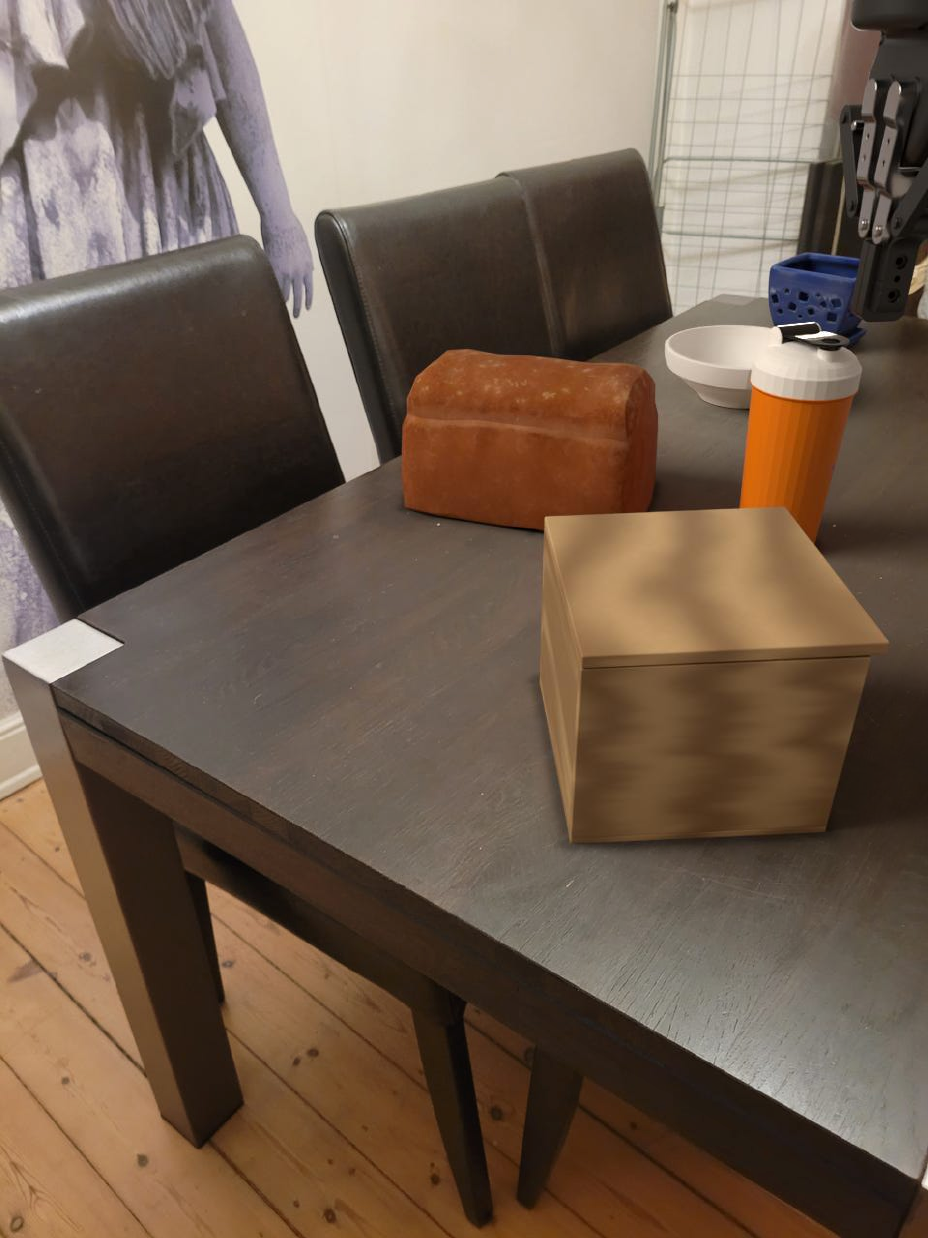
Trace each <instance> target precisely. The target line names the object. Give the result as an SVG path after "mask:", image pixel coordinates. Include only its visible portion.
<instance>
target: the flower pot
mask: <svg viewBox="0 0 928 1238" xmlns="http://www.w3.org/2000/svg"><path fill="white" fill-rule="evenodd" d="M859 262H860V258H857V257H851V256H842V255H836V254H835V255H834V254H827V253H826V254H825V253H817V252H802V253H800V254H797V255H794V256H791V257H788V258H787V259H784V260H782V261H780V262H777V263H775V264H772V265H771V267H770V269H769V274H768V288H767V290H768V291H767V294H768V296H767V297H768V307H769V314H770V318H771V321H772V323H773V327H775V326H783V325H793V324H803V323H813V322H815V323H818V324H819V326H820V328H821V331H822V332H829V333H834V334H837V335H841V336H843V337H846V338H848V339H849V344H848V345H847V346H844V348H846V349H847V348H849V347H851V346H852V345H854V344H855V343H857V342H859V341H860V340H861V339H862V338H863V337H864V336H865V335H866V334H867V332H868V329H867V328H865V327H861V326H860V327H859V325H860V324H861V323H862V321H863V320H862V319H861V318H859V317H858V316H856V315H855V314H853V313H852V311H851V302H852V297H853V292H854V287H855V282H856V277H857V272H858V267H859Z"/></svg>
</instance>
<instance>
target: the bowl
mask: <svg viewBox="0 0 928 1238" xmlns="http://www.w3.org/2000/svg"><path fill="white" fill-rule="evenodd" d="M772 328H773V327H767V326H760V325H759V326H757V325H746V324H745V325H743V324H719V325H716V324H715V325H706V326H697V327H692V328H687V329H684V330H681V331H677V332H675V333H674V334H672V335H670V336H669V337H668V338H667V339H666V340H665V343H664V355H665V362H666V366H667V368H668V369H669V370H670V371H671V373H673V374H674V375H676V376H678V377H679V378H680V379H681V380H683V382H685V383H686V384H687V385H688V386H690V387H691V388H692V389H693V390H694V391H695V392H696V393H697V396H698V397H699V398H700V399H701V400H702V401H704V402H706V403H709V404H711V405H714V406H718V407H723V408H730V409H744V410H745V409H750V403H751V393H752V384H751V383H750V378H751V373H752V367H753V361H754V359H755V357H756V356H758V354H759V353H760V352H761V351H762V350H763V349H765V348H766V347H767V342H768V336H769V332H770V330H771V329H772Z"/></svg>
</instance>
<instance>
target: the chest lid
mask: <svg viewBox="0 0 928 1238" xmlns="http://www.w3.org/2000/svg"><path fill="white" fill-rule="evenodd" d="M544 526H545V530H546V534H547V538H548V542H549V546H550V549H551V553H552V557H553V561H554V565H555V569H556V573H557V577H558V580H559V584H560V588H561V592H562V596H563V600H564V604H565V608H566V611H567V615H568V619H569V623H570V627H571V631H572V635H573V638H574V642H575V646H576V650H577V654H578V658H579V662H580V666H581V668H598V667H620V666H642V665H663V664H685V663H707V662H729V661H751V660H773V659H795V658H816V657H838V656H860V655H870V656H878V655H888V651H889V648H890V641H889V639H888V638H887V637H886V635H885V634H884V633H883V632H882V630H881V629H880V628H879V626H878V625H877V624H876V622H875V621H874V620H873V619H872V617H871V616H870V615H869V614H868V612H867V611H866V610H865V608H864V607H863V606H862V604H861V603H860V602H859V601H858V599H857V598H856V597H855V596H854V594H853V593H852V591H850V589H849V588H848V586H847V585H846V584H845V582H844V581H843V580H842V579H841V577H840V576H839V575H838V574H837V572H836V571H835V570H834V568H833V567H832V566H831V564H830V563H829V562H828V560H827V559H826V558H825V557H824V555H823V554H822V553H821V552H820V550H819V549H818V548H817V546H816V545H815V544H813V542H812V541H811V540H810V539H809V537H808V536H807V535H806V533H805V532H804V531H803V530H802V528H801V527H800V526H799V524H798V523H797V522H796V520H795V519H794V518H793V517H792V515H791V514H790V513H789V511H788V510H787V509H786V508H785V507H763V508H740V507H739V508H718V509H717V508H715V509H695V510H692V509H691V510H671V511H670V510H669V511H650V512H649V511H646V512H644V513H620V514H596V515H572V516H548V517H545V525H544Z"/></svg>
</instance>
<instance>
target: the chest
mask: <svg viewBox="0 0 928 1238" xmlns="http://www.w3.org/2000/svg"><path fill="white" fill-rule="evenodd" d="M542 557H543V559H542V561H543V562H542V589H541V590H542V592H541V594H542V595H541V626H540V657H539V660H540V661H539V685H540V689H541V695H542V696H541V697H542V700H543V706H544V711H545V717H546V721H547V726H548V733H549V737H550V743H551V749H552V752H553V760H554V763H555V770H556V774H557V779H558V785H559V789H560V797H561V801H562V806H563V810H564V816H565V821H566V828H567V832H568V836H569V838H568V839H569V843H570V844H572V845H574V844H595V843H613V842H614V843H615V842H635V841H638V842H639V841H657V840H659V841H661V840H679V839H699V838H700V839H701V838H720V837H722V838H723V837H725V838H726V837H743V836H745V837H746V836H762V835H763V836H767V835H786V834H789V835H790V834H809V833H825V832H826V831H827V826H828V822H829V819H830V816H831V811H832V809H833V803H834V800H835V797H836V793H837V788H838V785H839V781H840V778H841V774H842V771H843V767H844V763H845V759H846V755H847V751H848V747H849V743H850V740H851V735H852V732H853V728H854V724H855V721H856V717H857V713H858V710H859V706H860V702H861V699H862V694H863V691H864V687H865V683H866V680H867V675H868V672H869V668H870V664H871V660H872V656H871V655H860V656H838V657H816V658H795V659H773V660H751V661H729V662H707V663H685V664H663V665H642V666H620V667H598V668H581V666H580V662H579V658H578V654H577V650H576V646H575V642H574V638H573V635H572V631H571V627H570V623H569V619H568V615H567V611H566V608H565V604H564V600H563V596H562V592H561V588H560V584H559V580H558V577H557V573H556V569H555V565H554V561H553V557H552V553H551V549H550V546H549V542H548V538H547V534H546V530H545V528H544V531H543V556H542Z"/></svg>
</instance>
